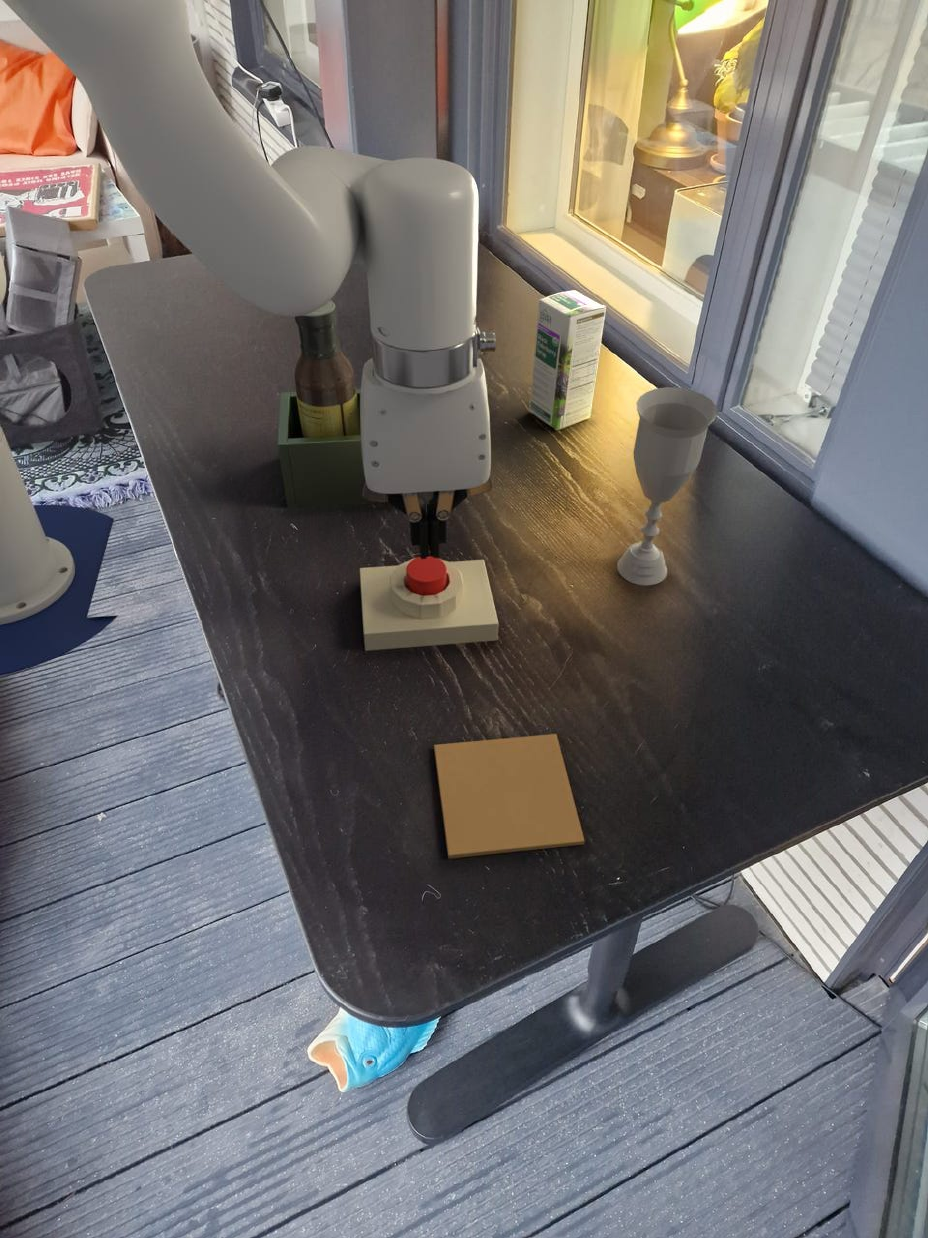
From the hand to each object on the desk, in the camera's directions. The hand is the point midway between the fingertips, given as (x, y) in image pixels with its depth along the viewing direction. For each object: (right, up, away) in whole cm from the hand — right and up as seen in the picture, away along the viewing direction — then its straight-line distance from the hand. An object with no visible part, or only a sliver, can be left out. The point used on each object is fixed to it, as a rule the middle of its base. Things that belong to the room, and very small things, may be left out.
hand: (428, 548), depth 75 cm
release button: (0, -3, +3) cm, 4 cm away
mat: (+6, -20, -9) cm, 23 cm away
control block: (0, -6, +5) cm, 8 cm away
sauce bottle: (-11, +9, +21) cm, 26 cm away
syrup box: (+15, +19, +32) cm, 40 cm away
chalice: (+21, -1, +11) cm, 24 cm away
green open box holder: (-10, +10, +21) cm, 25 cm away
